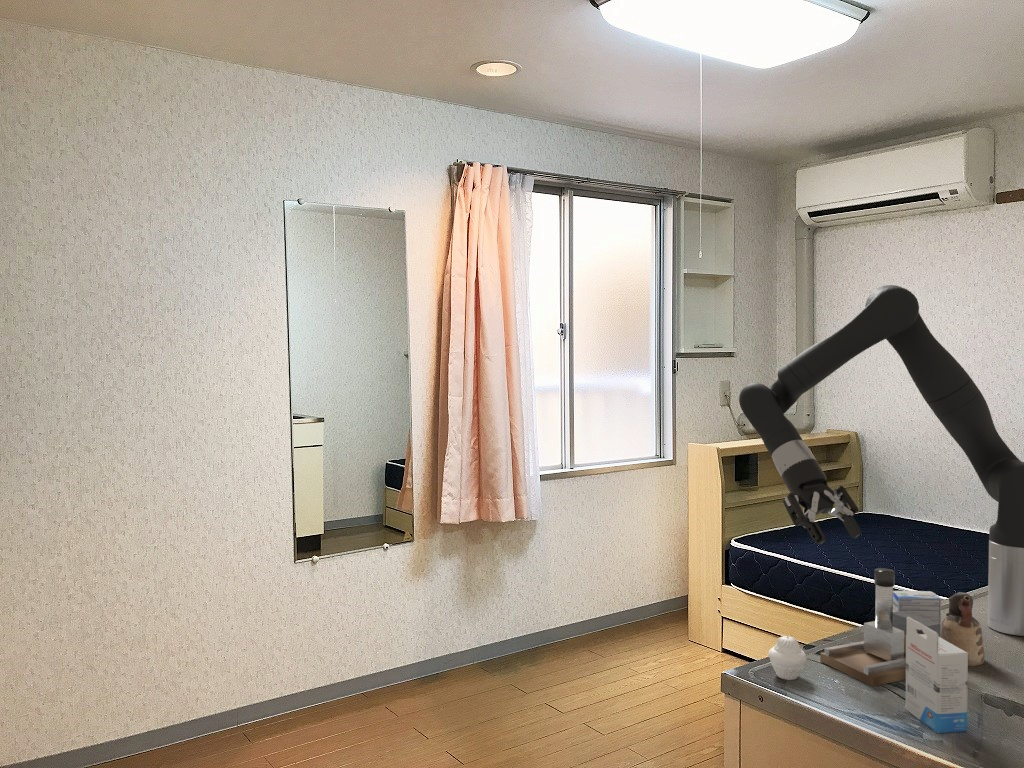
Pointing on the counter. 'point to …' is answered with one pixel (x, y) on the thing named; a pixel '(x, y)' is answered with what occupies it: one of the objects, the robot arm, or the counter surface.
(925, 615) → the medicine box
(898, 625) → the grey metal frame
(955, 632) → the figurine
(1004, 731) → the counter surface
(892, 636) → the press handle
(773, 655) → the muffin
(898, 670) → the wooden tray with rails
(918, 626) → the ink box
